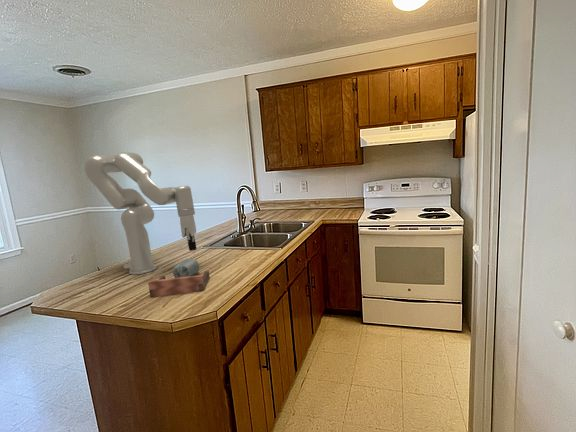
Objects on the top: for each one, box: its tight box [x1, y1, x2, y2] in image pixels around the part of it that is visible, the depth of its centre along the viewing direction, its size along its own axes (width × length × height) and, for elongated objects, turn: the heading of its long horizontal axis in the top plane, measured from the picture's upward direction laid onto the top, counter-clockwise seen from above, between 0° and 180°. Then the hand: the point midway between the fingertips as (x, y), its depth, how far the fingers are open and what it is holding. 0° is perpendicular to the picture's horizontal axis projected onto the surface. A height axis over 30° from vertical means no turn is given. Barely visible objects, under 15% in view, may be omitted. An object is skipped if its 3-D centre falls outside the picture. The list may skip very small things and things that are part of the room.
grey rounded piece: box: [172, 257, 200, 278], centre depth 139 cm, size 14×10×10 cm
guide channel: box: [147, 270, 211, 298], centre depth 129 cm, size 20×15×6 cm
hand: (193, 249), depth 151 cm, fingers closed
